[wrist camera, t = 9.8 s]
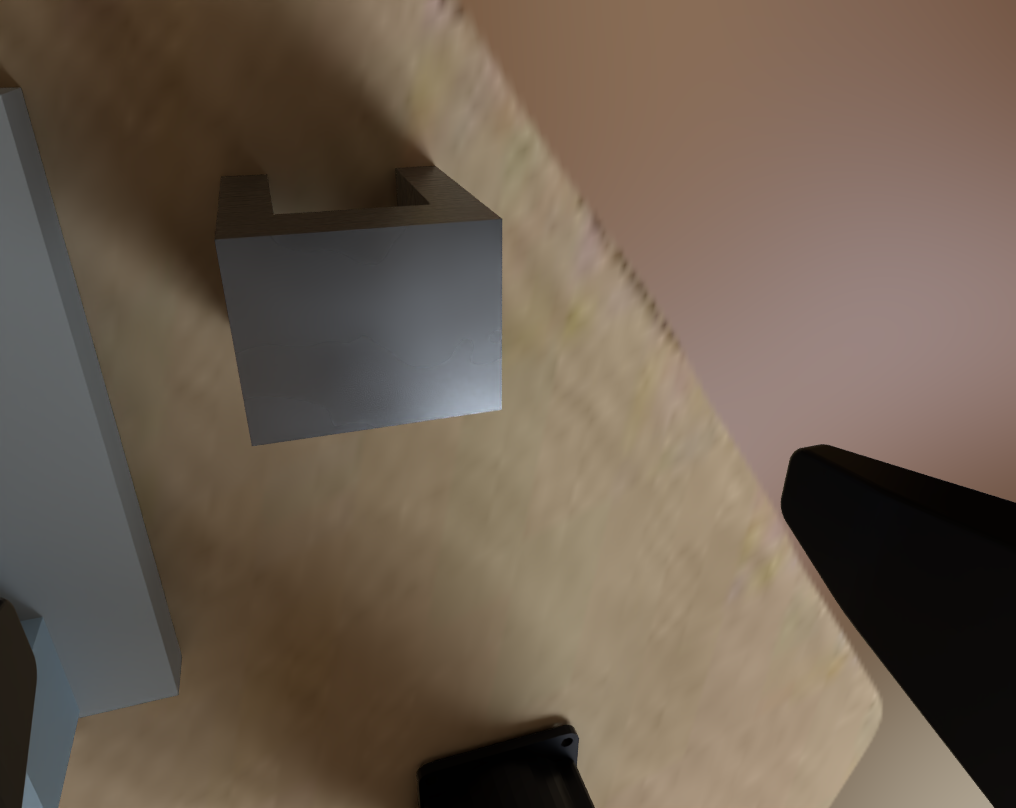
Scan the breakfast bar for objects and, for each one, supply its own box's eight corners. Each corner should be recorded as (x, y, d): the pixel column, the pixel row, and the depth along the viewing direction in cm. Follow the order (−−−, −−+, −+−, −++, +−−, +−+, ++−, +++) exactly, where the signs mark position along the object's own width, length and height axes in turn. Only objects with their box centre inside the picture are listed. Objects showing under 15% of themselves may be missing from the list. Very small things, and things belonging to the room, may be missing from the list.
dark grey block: (435, 165, 18) (502, 219, 14) (441, 317, 20) (501, 409, 16) (221, 176, 17) (214, 240, 12) (248, 338, 19) (251, 445, 14)
